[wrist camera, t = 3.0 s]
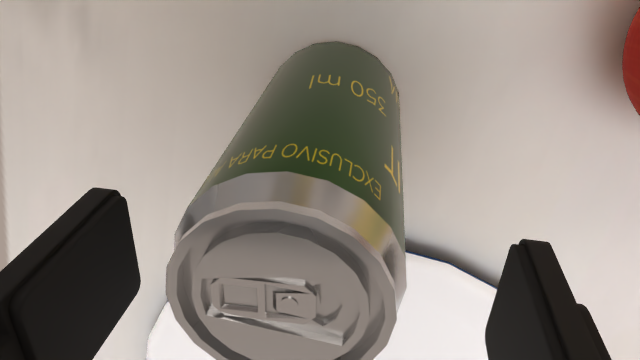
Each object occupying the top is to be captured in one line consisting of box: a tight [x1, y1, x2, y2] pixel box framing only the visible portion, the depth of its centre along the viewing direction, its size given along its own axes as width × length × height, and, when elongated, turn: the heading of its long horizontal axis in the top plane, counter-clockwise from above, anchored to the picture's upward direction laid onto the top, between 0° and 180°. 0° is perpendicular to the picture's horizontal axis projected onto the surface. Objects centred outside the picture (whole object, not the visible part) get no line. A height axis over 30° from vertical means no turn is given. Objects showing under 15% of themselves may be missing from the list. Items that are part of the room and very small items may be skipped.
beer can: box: [166, 42, 407, 360], centre depth 15 cm, size 5×5×12 cm
